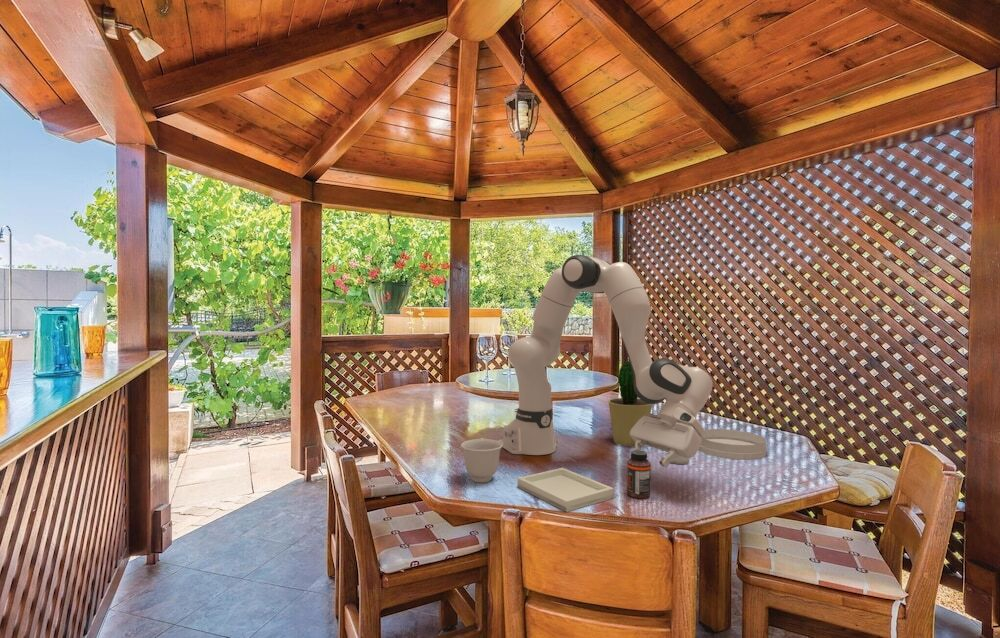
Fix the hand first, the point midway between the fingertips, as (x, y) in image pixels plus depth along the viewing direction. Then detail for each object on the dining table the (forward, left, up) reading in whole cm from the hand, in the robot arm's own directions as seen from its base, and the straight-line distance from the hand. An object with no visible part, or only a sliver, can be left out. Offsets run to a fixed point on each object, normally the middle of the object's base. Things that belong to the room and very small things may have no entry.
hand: (648, 460), depth 133 cm
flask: (-13, +30, -9) cm, 34 cm away
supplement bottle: (0, -3, -9) cm, 9 cm away
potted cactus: (-37, +35, -9) cm, 52 cm away
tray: (-12, -18, -8) cm, 24 cm away
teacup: (-34, -30, -9) cm, 47 cm away
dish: (-11, +56, -9) cm, 57 cm away
